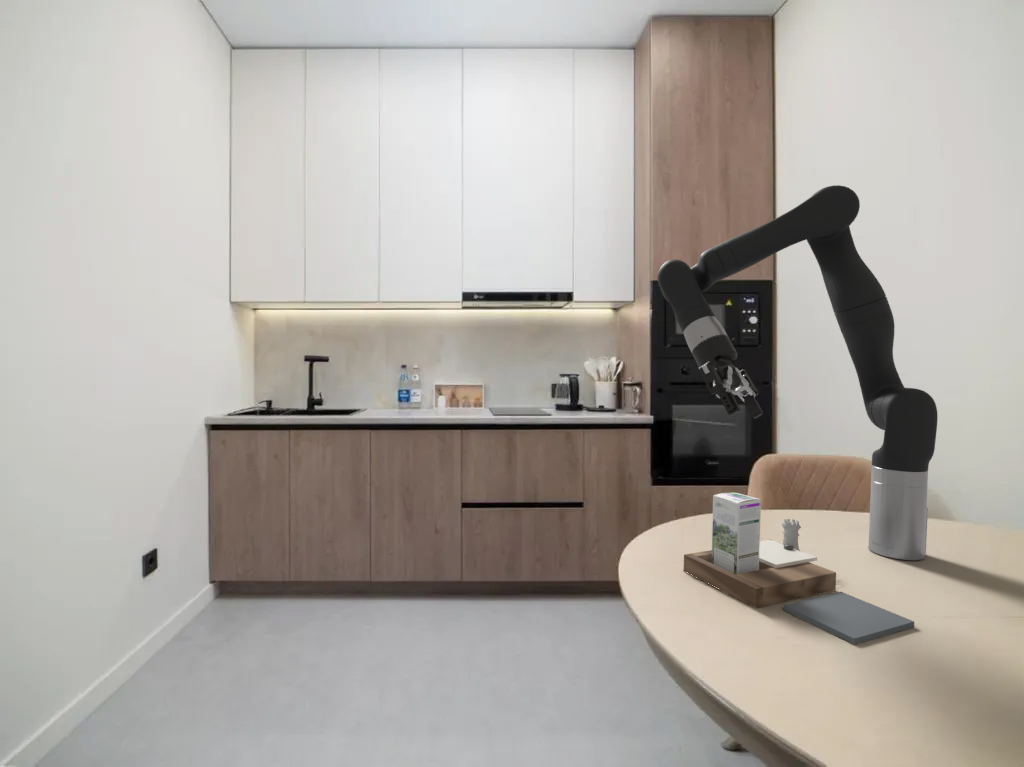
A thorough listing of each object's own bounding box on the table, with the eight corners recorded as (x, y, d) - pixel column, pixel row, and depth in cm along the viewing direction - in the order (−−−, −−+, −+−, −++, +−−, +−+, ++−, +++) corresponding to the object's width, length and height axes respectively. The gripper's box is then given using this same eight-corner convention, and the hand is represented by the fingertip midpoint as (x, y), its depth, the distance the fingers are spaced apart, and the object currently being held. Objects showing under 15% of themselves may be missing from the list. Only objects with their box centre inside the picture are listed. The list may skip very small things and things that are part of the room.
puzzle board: (757, 558, 105) (757, 542, 105) (835, 590, 91) (836, 572, 90) (683, 571, 98) (684, 554, 98) (755, 608, 83) (756, 588, 83)
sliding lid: (769, 542, 105) (769, 536, 105) (817, 560, 96) (817, 553, 96) (730, 549, 101) (730, 542, 101) (776, 568, 92) (776, 561, 92)
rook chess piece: (806, 568, 101) (808, 525, 100) (780, 565, 101) (782, 523, 101) (798, 559, 105) (800, 518, 105) (773, 557, 106) (775, 516, 105)
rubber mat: (840, 596, 88) (841, 591, 88) (914, 627, 78) (914, 621, 78) (783, 609, 83) (783, 604, 83) (853, 644, 73) (854, 638, 73)
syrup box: (760, 581, 94) (763, 498, 93) (735, 587, 91) (738, 501, 90) (733, 570, 99) (736, 490, 98) (709, 575, 96) (711, 493, 96)
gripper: (704, 327, 103) (744, 401, 95) (743, 339, 112) (782, 407, 104) (674, 349, 107) (710, 422, 100) (713, 359, 116) (748, 426, 109)
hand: (746, 414), depth 102 cm, fingers open, 8 cm apart
